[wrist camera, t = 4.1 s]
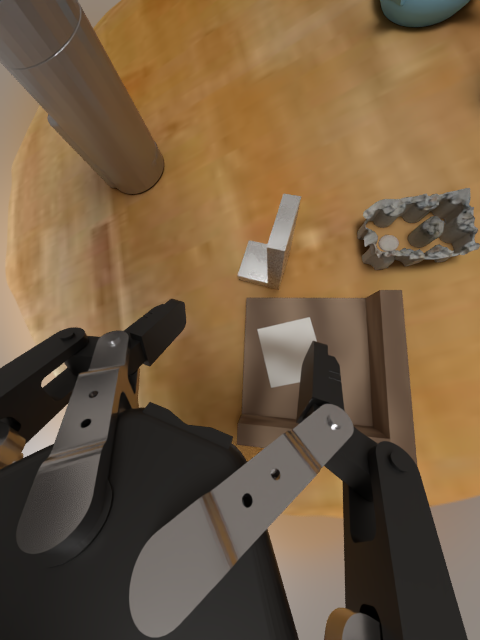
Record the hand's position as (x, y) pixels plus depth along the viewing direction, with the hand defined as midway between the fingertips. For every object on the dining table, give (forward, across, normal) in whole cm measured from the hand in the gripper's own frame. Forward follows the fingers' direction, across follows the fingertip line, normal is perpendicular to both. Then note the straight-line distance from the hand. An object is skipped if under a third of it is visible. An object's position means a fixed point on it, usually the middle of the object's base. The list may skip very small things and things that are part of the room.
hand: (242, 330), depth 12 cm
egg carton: (+22, -14, -3) cm, 26 cm away
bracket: (+16, +2, +2) cm, 17 cm away
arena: (+9, -7, +10) cm, 15 cm away
